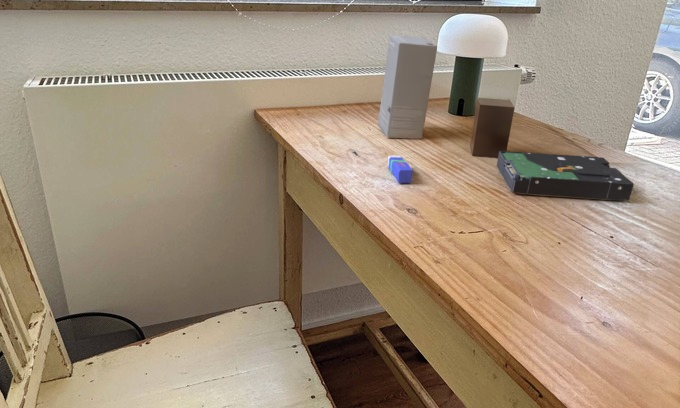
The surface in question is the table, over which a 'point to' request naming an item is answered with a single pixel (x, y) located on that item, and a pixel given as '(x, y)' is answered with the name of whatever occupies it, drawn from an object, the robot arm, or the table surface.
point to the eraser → (400, 169)
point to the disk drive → (563, 176)
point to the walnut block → (491, 127)
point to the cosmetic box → (406, 86)
